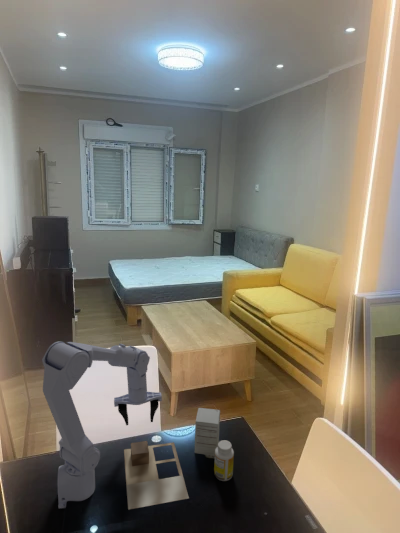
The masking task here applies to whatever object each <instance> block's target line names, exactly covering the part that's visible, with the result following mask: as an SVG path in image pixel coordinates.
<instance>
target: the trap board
mask: <svg viewBox="0 0 400 533" xmlns="http://www.w3.org/2000/svg"><path fill="white" fill-rule="evenodd" d="M175 444H176V443H175V442H174V441H173V442H167V443H160V444H153V445H152V444H151V445H148V449H149V464H144V465H137V466H132V461H131V448H125V449H123V454H124V455H123V456H124V469H125V470H124V471H125V482H126V484H125V485H126V496H127V509H128V511H130V510H134V509H139V508H144V507H150V506H151V507H152V506H154V505H155V506H157V505H161V504H165V503H166V504H167V503H172V502H177V501H182V500H188V499H190V497H189V494H188V490H187V489H188V488H187V487H186V486H187V485H186V482H185V478H184V475H183V470H182V467H181V463H180V460H179V457H178V452H177V448H176V446H175ZM168 446H171V450H172V453H173V455H174V456H173V457H174V458H170V459H168V458H167V459H163V460H156V457H155V456H156V455H155V453H154V452H155V451H154V448H160V447H168ZM170 462H175V464H176V468H177V473H178V475H176V476H171V477H165V478H159V473H158V469H157V464H158V465H159V464H163V463H164V464H165V463H170Z"/></svg>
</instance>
